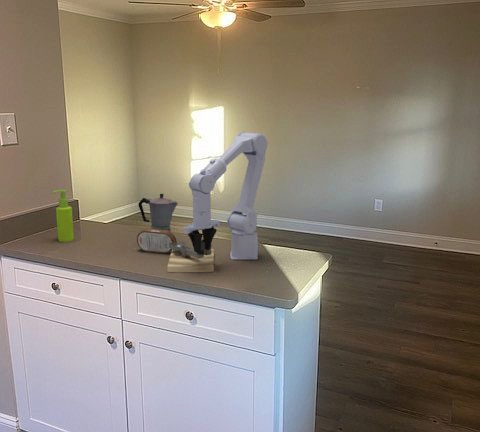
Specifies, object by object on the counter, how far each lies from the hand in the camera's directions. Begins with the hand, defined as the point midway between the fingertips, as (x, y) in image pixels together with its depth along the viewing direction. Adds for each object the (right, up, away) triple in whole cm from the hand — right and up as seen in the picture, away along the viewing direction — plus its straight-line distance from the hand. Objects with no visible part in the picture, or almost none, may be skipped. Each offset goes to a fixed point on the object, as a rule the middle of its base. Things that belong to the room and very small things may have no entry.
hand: (202, 250), depth 164 cm
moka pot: (-19, 0, +27) cm, 33 cm away
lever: (-6, -2, +6) cm, 8 cm away
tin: (-18, -2, +18) cm, 25 cm away
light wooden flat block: (-4, -5, +6) cm, 9 cm away
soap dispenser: (-57, +2, +32) cm, 65 cm away
